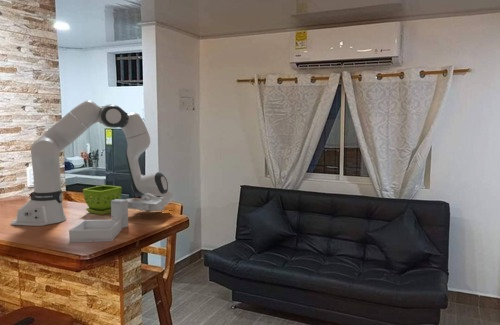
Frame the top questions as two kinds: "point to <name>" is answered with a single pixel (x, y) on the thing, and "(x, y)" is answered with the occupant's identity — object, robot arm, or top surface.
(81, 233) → the grey square tray
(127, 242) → the top surface
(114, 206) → the skincare box
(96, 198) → the flower pot
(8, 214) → the top surface
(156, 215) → the top surface
